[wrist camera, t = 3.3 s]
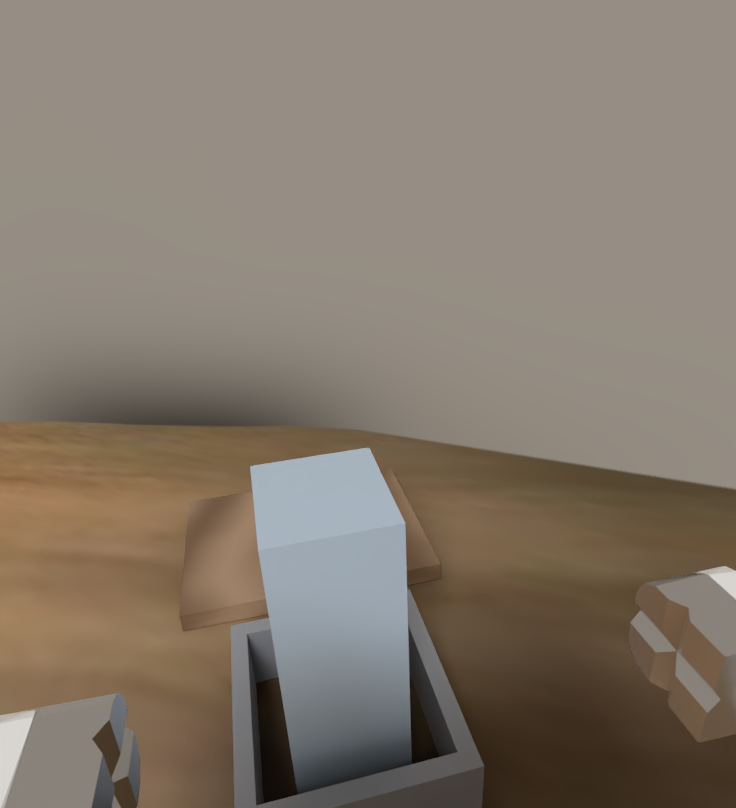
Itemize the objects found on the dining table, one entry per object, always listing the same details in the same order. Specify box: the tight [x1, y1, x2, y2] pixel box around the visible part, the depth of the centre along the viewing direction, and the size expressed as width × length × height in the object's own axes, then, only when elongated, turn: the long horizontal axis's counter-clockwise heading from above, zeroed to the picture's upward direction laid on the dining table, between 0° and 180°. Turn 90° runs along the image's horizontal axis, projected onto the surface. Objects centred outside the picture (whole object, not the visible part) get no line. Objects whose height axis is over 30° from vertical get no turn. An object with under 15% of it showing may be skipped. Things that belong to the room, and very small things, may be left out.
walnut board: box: [180, 469, 441, 631], centre depth 41 cm, size 16×12×1 cm
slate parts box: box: [250, 448, 412, 794], centre depth 25 cm, size 5×6×14 cm
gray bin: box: [231, 589, 484, 808], centre depth 27 cm, size 10×10×4 cm
